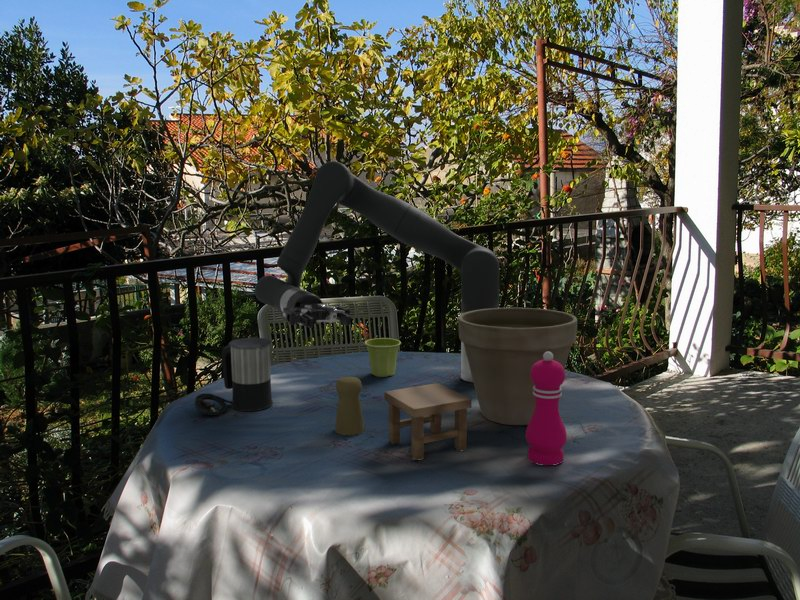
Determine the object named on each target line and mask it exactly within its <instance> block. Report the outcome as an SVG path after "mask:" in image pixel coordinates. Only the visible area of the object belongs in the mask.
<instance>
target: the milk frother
mask: <svg viewBox="0 0 800 600" xmlns="http://www.w3.org/2000/svg"><path fill="white" fill-rule="evenodd" d="M271 344H272V340H270V339H269V338H263V337H242V338H238V339H233V340H231V341H229V343H228V344H227V345H226V346H224V347H223V349H222V352H221V364H222V370H223V371H222V373H223V382H224V383H223V384H224V388H225V389H226V390H230V389H232V400H228V399H225V398H223V397H220V396H219V395H216V394H213V393H200V394H198V395H196V397H195V399H194V402H193V403H194V407H195V409H196V410H197V411H198V412H199V413H202V414H204V415H206V416H208V415H210V416H215V415H221V414H223V413H225V412H226V410H227V404H226V403H230V404H231V407H232V409H234V410H237V411H242V412H256V411H262V410H265V409H268V408H271V407H272V406H273V404H274V401H273V398H272V397H273V396H272V386H271V385H272V380H271V376H272V374H271V372H272V371H271V369H272V368H271V367H272V366H271ZM209 400H210V401H214V402H216V403H218V404H219V406H220V407H219V408H217V409H215V408H214V407H215V403H211V402H210V401H209Z"/></svg>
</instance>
